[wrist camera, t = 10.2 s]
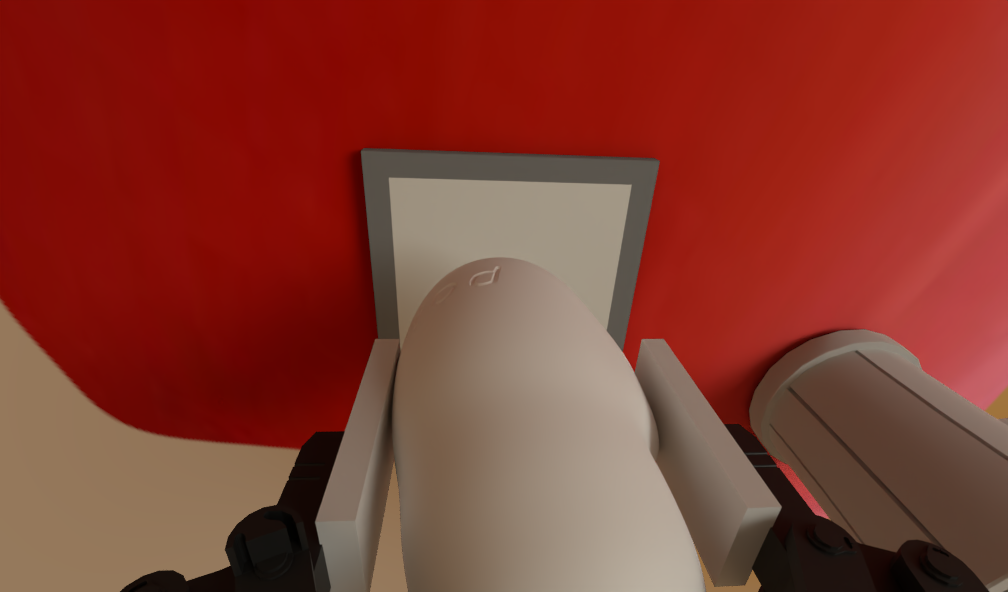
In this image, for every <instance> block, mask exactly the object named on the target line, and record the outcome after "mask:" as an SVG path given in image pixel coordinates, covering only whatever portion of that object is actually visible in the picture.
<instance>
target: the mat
mask: <svg viewBox="0 0 1008 592" xmlns="http://www.w3.org/2000/svg"><path fill="white" fill-rule="evenodd" d="M361 158H362V169H363V179H364V190H365V201H366V212H367V222H368V233H369V244H370V255H371V265H372V276H373V287H374V298H375V308H376V319H377V330H378V339H399V340H400V353H401V349H402V346H403V343H404V340H405V337H406V334H407V331H408V329H409V326H410V324H411V322H412V319H413V317H414V315H415V313H416V311H417V310H418V308H419V306H420V305H421V303H422V302H423V300H424V299H425V297H426V296H427V295H428V293H429V292H430V291H431V290H432V288H433V287H434V286H435V285H436V284H437V283H438V282H439V281H440V280H441V279H442V278H443V277H445V276H446V275H447V274H448V273H450V272H451V271H453V270H455V269H456V268H458V267H460V266H462V265H464V264H467V263H470V262H473V261H476V260H480V259H485V258H493V257H507V258H515V259H520V260H524V261H527V262H530V263H533V264H535V265H537V266H539V267H541V268H543V269H545V270H547V271H548V272H550V273H552V274H553V275H555V276H556V277H557V278H559V279H560V280H561V281H562V282H564V283H565V284H566V285H567V286H568V287H569V288H570V289H571V290H572V291H573V292H574V293H575V294H576V295H577V296H578V298H579V299H580V300H581V301H582V302H583V303H584V304H585V306H586V307H587V308H588V309H589V310H590V312H591V313H592V314H593V315H594V316H595V317H596V319H597V320H598V321H599V322H600V324H601V325H602V326H603V327H604V328H605V329H606V331H607V332H608V333H609V335H610V336H611V337H612V338H613V340H614V341H615V342H616V344H617V345H618V346H619V348H620V349H621V351H622V352H623V346H624V341H625V336H626V331H627V326H628V321H629V316H630V311H631V305H632V300H633V295H634V290H635V285H636V280H637V275H638V270H639V264H640V259H641V254H642V249H643V244H644V239H645V234H646V229H647V223H648V218H649V213H650V208H651V203H652V198H653V193H654V188H655V183H656V177H657V172H658V167H659V162H660V161H659V160H657V159H655V158H631V157H602V156H573V155H544V154H515V153H487V152H458V151H429V150H400V149H371V148H364V149H362V150H361Z"/></svg>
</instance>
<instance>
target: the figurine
mask: <svg viewBox="0 0 1008 592" xmlns="http://www.w3.org/2000/svg"><path fill="white" fill-rule="evenodd" d="M392 441H393V453H394V460H395V466H396V474H397V480H398V486H399V498H400V519H401V540H402V552H403V561H404V569H405V575H406V582H407V588H408V592H706V588H705V583H704V578H703V573H702V569H701V565H700V562H699V559H698V555H697V552H696V549H695V546H694V543H693V541H692V538H691V536H690V533H689V530H688V528H687V526H686V523H685V521H684V519H683V516H682V514H681V512H680V510H679V508H678V505H677V503H676V501H675V499H674V497H673V495H672V493H671V491H670V489H669V487H668V485H667V483H666V481H665V479H664V477H663V475H662V473H661V471H660V469H659V467H658V466H657V464H656V462H655V461H656V459H657V456H658V453H659V435H658V429H657V425H656V422H655V419H654V416H653V413H652V410H651V408H650V405H649V403H648V400H647V398H646V396H645V394H644V392H643V389H642V387H641V385H640V383H639V381H638V379H637V377H636V375H635V373H634V371H633V369H632V367H631V365H630V364H629V362H628V360H627V359H626V357H625V355H624V354H623V352H622V351H621V349H620V348H619V346H618V345H617V344H616V342H615V341H614V340H613V338H612V337H611V336H610V335H609V333H608V332H607V331H606V329H605V328H604V327H603V326H602V325H601V324H600V322H599V321H598V320H597V319H596V317H595V316H594V315H593V314H592V313H591V312H590V310H589V309H588V308H587V307H586V306H585V304H584V303H583V302H582V301H581V300H580V299H579V298H578V296H577V295H576V294H575V293H574V292H573V291H572V290H571V289H570V288H569V287H568V286H567V285H566V284H565V283H564V282H562V281H561V280H560V279H559V278H557V277H556V276H555V275H553V274H552V273H550V272H548V271H547V270H545V269H543V268H541V267H539V266H537V265H535V264H533V263H530V262H527V261H524V260H520V259H515V258H507V257H493V258H485V259H480V260H476V261H473V262H470V263H467V264H464V265H462V266H460V267H458V268H456V269H455V270H453V271H451V272H450V273H448V274H447V275H446V276H445V277H443V278H442V279H441V280H440V281H439V282H438V283H437V284H436V285H435V286H434V287H433V288H432V290H431V291H430V292H429V293H428V295H427V296H426V297H425V299H424V300H423V302H422V303H421V305H420V306H419V308H418V310H417V311H416V313H415V315H414V317H413V319H412V322H411V324H410V326H409V329H408V331H407V334H406V337H405V340H404V343H403V346H402V349H401V353H400V357H399V361H398V366H397V371H396V376H395V383H394V392H393V403H392Z"/></svg>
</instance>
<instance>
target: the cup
mask: <svg viewBox="0 0 1008 592" xmlns="http://www.w3.org/2000/svg"><path fill="white" fill-rule="evenodd" d="M749 414H750V424H751V428H752V430H753V431H754V433H755V434H756V436H757V437H758V439H759V440H760V442H761V443H762V444H763V445H764V447H765V448H766V449H767V451H768V452H769V453H770V455H772V456H773V457H775V458H777V459H778V460H780V461H782V462H784V463H785V464H788V465H789V466H790V467H791V468H792V470H793V471H794V472H795V473H796V475H797V476H798V477H799V479H800V480H801V481H802V483H803V484H804V485H805V487H806V488H807V489H808V491H809V492H810V493H811V494H812V496H813V497H814V498H815V500H816V501H817V502H818V504H819V505H820V506H821V508H822V509H823V510H824V512H825V513H826V514H827V516H828V517H829V518H830V519H831V521H833V522H834V523H836V524H837V525H839V526H840V527H842V528H843V529H845V530H846V531H847V532H848V533H849V534H850V535H851V536H852V537H853V538H854V539H855V541H856V542H858V543H861V544H865V545H869V546H873V547H877V548H881V549H885V550H889V551H893V552H897V551H898V549H899V548H900V546H901V545H902V544H903V543H905V542H906V541H907V540H922V541H926V542H930V543H933V544H935V545H937V546H939V547H941V548H943V549H945V550H947V551H949V552H950V553H951V554H953V555H954V556H956V557H957V558H959V559H960V560H961V561H963V562H964V563H965V564H966V565H967V566H968V567H969V568H970V569H971V570H972V571H973V572H974V573H975V575H976V576H977V577H978V578H979V579H980V581H981V582H982V583H983V584H984V586H985V587H986V588H987V589H988V590H989V592H1008V418H1005V419H996V418H995V417H993V416H991V415H990V414H988V413H986V412H985V411H983V410H982V409H980V408H979V407H977V406H976V405H974V404H973V403H971V402H970V401H968V400H967V399H965V398H963V397H962V396H960V395H959V394H957V393H956V392H954V391H953V390H951V389H950V388H948V387H947V386H945V385H944V384H942V383H941V382H939V381H937V380H936V379H934V378H933V377H931V376H930V375H928V374H927V373H925V372H924V371H922V368H921V366H920V363H919V360H918V358H916V357H915V356H914V355H913V354H912V353H910V352H909V351H908V350H907V349H906V348H904V347H903V346H902V345H900V344H899V343H897V342H896V341H894V340H893V339H891V338H890V337H888V336H886V335H884V334H880V333H876V332H873V331H869V330H865V329H862V330H843V331H837V332H834V333H830V334H827V335H824V336H821V337H817V338H814V339H811V340H809V341H807V342H806V343H804V344H802V345H800V346H798V347H797V348H795V349H793V350H791V351H790V352H788V353H787V354H785V355H784V356H783V357H782V358H781V359H780V360H779V361H778V362H777V363H775V364H774V365H773V366H772V367H771V368H770V369H769V370H768V372H767V373H766V375H765V376H764V378H763V379H762V381H761V382H760V384H759V385H758V386H757V388H756V390H755V392H754V395H753V398H752V402H751V405H750V408H749Z"/></svg>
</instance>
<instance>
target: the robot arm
mask: <svg viewBox="0 0 1008 592" xmlns="http://www.w3.org/2000/svg"><path fill="white" fill-rule="evenodd" d="M399 357H400V340H399V339H375V342H374V345H373V348H372V351H371V354H370V357H369V360H368V363H367V366H366V369H365V372H364V375H363V378H362V381H361V384H360V387H359V390H358V393H357V396H356V399H355V402H354V405H353V409H352V412H351V415H350V418H349V421H348V424H347V427H346V430H345V431H341V432H316V433H315V434H314V435H313V436H312V437H311V438H310V439H309V440H308V441H307V442H306V443H305V444H304V445H303V446H302V448H301V450H300V452H299V455H298V457H297V459H296V462H295V466H294V467H293V469H292V471H291V473H290V476H289V480H288V481H287V483H286V485H285V487H284V490H283V492H282V494H281V497H280V499H279V501H278V504H277V505H274V506H269V507H264V508H261V509H259V510H257V511H255V512H253V513H251V514H249V515H248V516H247V517H245V518H244V519H243V520H242V521H241V522H239V523H238V524H237V525H236V526H235V528H234V529H233V531H232V532H231V534H230V535H229V537H228V540H227V544H226V548H225V551H226V554H227V556H228V559H229V562H230V565H231V566H229V567H227V568H224V569H222V570H219V571H216V572H214V573H210V574H207V575H204V576H201V577H198V578H195V579H192V580H189V581H186V580H185V578H184V576H183V575H181V574H179V573H177V572H175V571H173V570H172V571H157V572H154V573H151V574H148V575H145V576H142V577H140V578H139V579H137V580H135V581H134V582H132V583H131V584H129V585H127V586H126V587H125V588H124V589H122V590H121V591H120V592H370V588H371V582H372V577H373V571H374V565H375V560H376V555H377V550H378V544H379V538H380V533H381V527H382V522H383V517H384V511H385V506H386V500H387V495H388V490H389V484H390V479H391V473H392V467H393V462H394V453H393V441H392V403H393V392H394V383H395V376H396V371H397V366H398V361H399ZM635 375H636V377H637V379H638V381H639V383H640V385H641V387H642V389H643V392H644V394H645V396H646V398H647V400H648V403H649V405H650V408H651V410H652V413H653V416H654V419H655V422H656V425H657V429H658V435H659V453H658V456H657V459H656V463H657V465H658V467H659V469H660V471H661V473H662V475H663V477H664V479H665V481H666V483H667V485H668V487H669V489H670V491H671V493H672V495H673V497H674V499H675V501H676V503H677V505H678V508H679V510H680V512H681V514H682V516H683V519H684V521H685V523H686V526H687V528H688V530H689V533H690V535H691V538H692V540H693V542H694V544H695V546H696V548H697V550H698V552H699V554H700V557H701V559H702V561H703V563H704V565H705V567H706V569H707V572H708V574H709V576H710V578H711V580H712V582H713V584H714V586H715V587H717V586H718V587H719V586H740V585H745V584H746V582H747V580H748V578H749V576H750V574H751V572H752V570H753V571H754V573H755V575H756V576H757V578H758V580H759V582H760V583H761V587H760V589H759V591H758V592H989V590H988V589H987V588H986V587H985V586H984V584H983V583H982V582H981V581H980V579H979V578H978V577H977V576H976V575H975V573H974V572H973V571H972V570H971V569H970V568H969V567H968V566H967V565H966V564H965V563H964V562H963V561H961V560H960V559H959V558H957V557H956V556H954V555H953V554H951V553H950V552H949V551H947V550H945V549H943V548H941V547H939V546H937V545H935V544H933V543H930V542H926V541H922V540H907V541H906V542H905V543H903V544H902V545H901V546H900V548H899V549H898V551H897V552H893V551H889V550H885V549H881V548H877V547H873V546H869V545H865V544H861V543H858V542H856V541H855V539H854V538H853V537H852V536H851V535H850V534H849V533H848V532H847V531H846V530H845V529H843V528H842V527H840V526H839V525H837V524H836V523H834V522H833V521H831V520H828V519H826V518H823V517H821V516H817V515H815V514H814V513H813V512H812V510H811V509H810V508H809V506H808V505H807V504H806V502H805V501H804V500H803V498H802V497H801V496H800V495H799V493H798V492H797V491H796V489H795V488H794V487H793V485H792V484H791V483H790V481H789V480H788V479H787V478H786V476H785V475H784V474H783V472H782V471H781V470H780V468H777V466H776V465H777V464H776V463H775V462H774V461H773V459H772V458H771V457H770V455H767V451H766V450H765V449H764V447H763V446H762V445H761V444H760V442H759V441H758V440H757V438H756V437H755V436H754V435H752V434H751V433H750V432H748V431H747V430H746V429H744V428H743V427H742V426H741V425H739V424H723V423H722V421H721V420H720V418H719V417H718V416H717V414H716V413H715V411H714V410H713V408H712V407H711V406H710V404H709V403H708V401H707V400H706V399H705V397H704V396H703V394H702V393H701V391H700V390H699V389H698V387H697V386H696V384H695V383H694V381H693V380H692V379H691V377H690V376H689V374H688V373H687V372H686V370H685V369H684V367H683V366H682V364H681V363H680V362H679V360H678V359H677V357H676V356H675V354H674V353H673V352H672V350H671V349H670V347H669V346H668V345H667V343H666V342H665V340H664V339H642V341H641V346H640V350H639V355H638V360H637V364H636V369H635Z"/></svg>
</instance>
